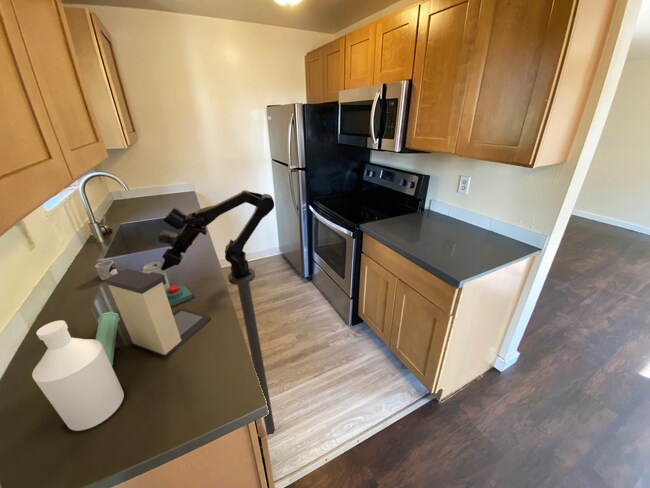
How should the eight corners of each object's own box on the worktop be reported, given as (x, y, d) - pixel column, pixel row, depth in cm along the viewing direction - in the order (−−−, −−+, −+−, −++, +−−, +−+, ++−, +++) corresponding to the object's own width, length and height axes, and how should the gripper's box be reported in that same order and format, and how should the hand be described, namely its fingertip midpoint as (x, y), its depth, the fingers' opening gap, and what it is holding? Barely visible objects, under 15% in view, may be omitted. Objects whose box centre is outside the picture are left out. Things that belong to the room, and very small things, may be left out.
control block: (185, 288, 115) (183, 281, 114) (193, 297, 109) (191, 290, 108) (159, 298, 109) (156, 291, 108) (165, 308, 103) (163, 301, 102)
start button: (177, 287, 110) (176, 284, 109) (180, 291, 108) (179, 287, 107) (167, 291, 108) (166, 287, 107) (170, 295, 105) (169, 291, 105)
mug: (115, 278, 125) (110, 265, 122) (98, 281, 123) (92, 268, 120) (122, 268, 134) (117, 256, 131) (106, 271, 132) (101, 258, 129)
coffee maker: (179, 310, 101) (161, 251, 91) (211, 320, 96) (195, 258, 86) (132, 345, 86) (103, 279, 76) (166, 358, 81) (140, 289, 71)
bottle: (68, 443, 60) (10, 359, 50) (62, 408, 68) (10, 329, 57) (130, 405, 68) (91, 325, 58) (118, 377, 75) (82, 303, 65)
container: (102, 358, 74) (110, 308, 93) (80, 373, 72) (93, 319, 92) (119, 368, 77) (123, 318, 97) (98, 383, 76) (107, 329, 95)
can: (173, 288, 116) (166, 263, 111) (156, 297, 110) (147, 271, 105) (164, 283, 119) (156, 259, 114) (146, 292, 114) (137, 266, 109)
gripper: (174, 216, 113) (152, 244, 116) (161, 232, 97) (136, 264, 99) (199, 231, 118) (177, 258, 121) (190, 249, 102) (166, 279, 104)
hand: (165, 264), depth 111 cm, fingers open, 9 cm apart
